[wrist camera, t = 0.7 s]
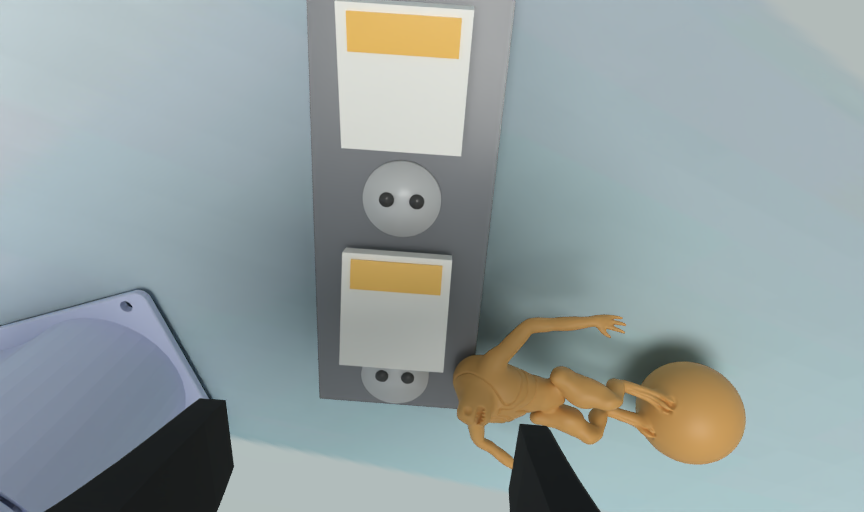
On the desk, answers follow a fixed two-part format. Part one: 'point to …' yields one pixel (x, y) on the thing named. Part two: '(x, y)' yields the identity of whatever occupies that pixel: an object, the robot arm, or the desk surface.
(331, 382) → the power strip
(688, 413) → the figurine
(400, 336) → the far rocker
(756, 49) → the desk surface
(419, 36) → the near rocker
